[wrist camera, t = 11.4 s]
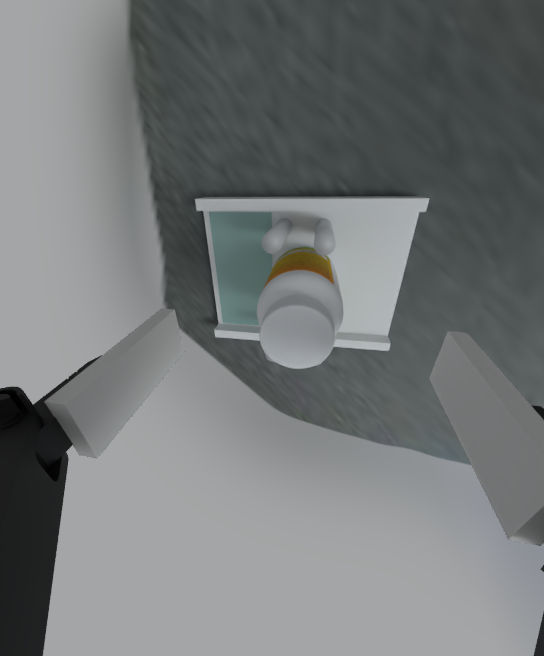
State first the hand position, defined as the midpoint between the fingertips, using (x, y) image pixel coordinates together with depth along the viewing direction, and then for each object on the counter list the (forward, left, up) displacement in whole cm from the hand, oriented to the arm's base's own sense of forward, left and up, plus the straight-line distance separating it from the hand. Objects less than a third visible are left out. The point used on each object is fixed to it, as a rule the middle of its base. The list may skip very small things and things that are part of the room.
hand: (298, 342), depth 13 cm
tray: (0, 0, -11) cm, 11 cm away
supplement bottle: (0, 0, -10) cm, 10 cm away
